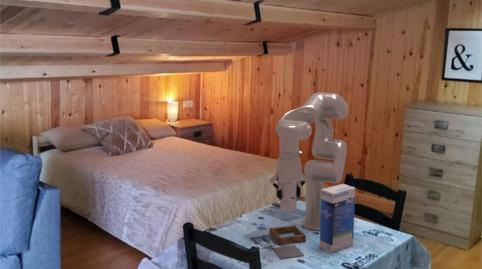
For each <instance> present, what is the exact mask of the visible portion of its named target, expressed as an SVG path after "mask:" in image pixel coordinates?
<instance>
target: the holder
mask: <svg viewBox="0 0 482 269" xmlns="http://www.w3.org/2000/svg"><path fill="white" fill-rule="evenodd" d="M268 230H269V232H268V233H269V236H270V237H271V238H272V239H273V240H274V242H275V243H276V244H277V245H278V246H287V245H295V244H300V243H302V244H303V243H306V242H307V235H306V234H305V233H304V232H303V231H302V230H301V229H300V228H299V227H298V226H297V225H295V224H294V225H285V226H277V227H276V226H275V227H269V229H268ZM292 233H293V234H295V235H291V236H290V235H289V236H283V237H282V236H279V235H285V234H292Z"/></svg>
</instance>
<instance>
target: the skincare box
mask: <svg viewBox="0 0 482 269" xmlns="http://www.w3.org/2000/svg"><path fill="white" fill-rule="evenodd" d="M281 190H282V199H281V200H280V199H279V203H280V204H279V209H280V210H282V211H289V212H290V211H291V212H295V211H296V209H297V199H298V197H297V183H296V181H294V182H290V183H288V184H283V185H282V187H281Z"/></svg>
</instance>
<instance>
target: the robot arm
mask: <svg viewBox="0 0 482 269" xmlns="http://www.w3.org/2000/svg"><path fill="white" fill-rule="evenodd" d="M349 110H350V109H349V105H348V103H347V101H346V100H345V99H344V98H343V97H342V95H340V94H338V93H335V92H314V93H312V94H311V95H310V96H309V98H307V100H306V101H305V103H303V104H302V106H300V107H297V108H295V109H292V110H290V111H287V112H285V113H284V114H283V115H282V116H281V118H280V119H279V121H278V122H277V124H276V129H275V130H276V131H275V132H276V135H277V136H278V137H279V157H278V158H277V159H276V165H275V174H274V175H273V176H272V177H271V178H270V179H269V183H270V184H271V185H272V186H273V187H275V189H276V198H277V199H278V200H279V201H280V200H281V199H282V190H281V187H282V185H283V184H288V183H290V182H294V181H296V183H297V199H300V198H301V195H302V188H303V186H304V185H305V218H304V220H302V222H301V225H302V227H303V228H305V229H307V230H311V231H320V216H321V189H324V188H327V186H326V185H325V183H329V184H330V183H331V184H339V183H340V182H341V181H342V179H343V174H344V170H345V165H346V158H347V153H348V152H347V151H348V150H347V149H348V148H347V143H346V142H345V141H344V140H342V139H335V138H334V133H335V128H334V126H333V124H332V123H331V121H330V119H332V120H334V119H335V120H344V119H346V117H348V115H349ZM313 123H314V124H315V131H314V137H313V141H312V145H311V154H312V156H313V157H314V158H318V159H319V160H318V159H311V160H310V159H309V160H308V161H307V162H305V165H304V167H303V168H304V173H303V168H302V161H301V158H300V156H302V154H303V152H302V151H301V150H300V141H306V140H307V139H309V138H310V137H311V135H312V133H313V132H312V131H313V130H312V126H311V124H313ZM320 159H323V160H320ZM324 159H326V160H324ZM327 160H333V161H327ZM275 181H276V182H277V183H276V182H275Z"/></svg>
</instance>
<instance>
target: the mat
mask: <svg viewBox="0 0 482 269" xmlns="http://www.w3.org/2000/svg"><path fill="white" fill-rule="evenodd" d="M272 250H273V252H274V253H275V254H276V256H277V257H278V258H279V259H280V260H285V259H294V258H301V257H304V256H305V255H304V253H303V252H302V251H301V250H300V249H299V248H298V247H297V246H296V245H295V244H290V245H282V246H277V247H272Z"/></svg>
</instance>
